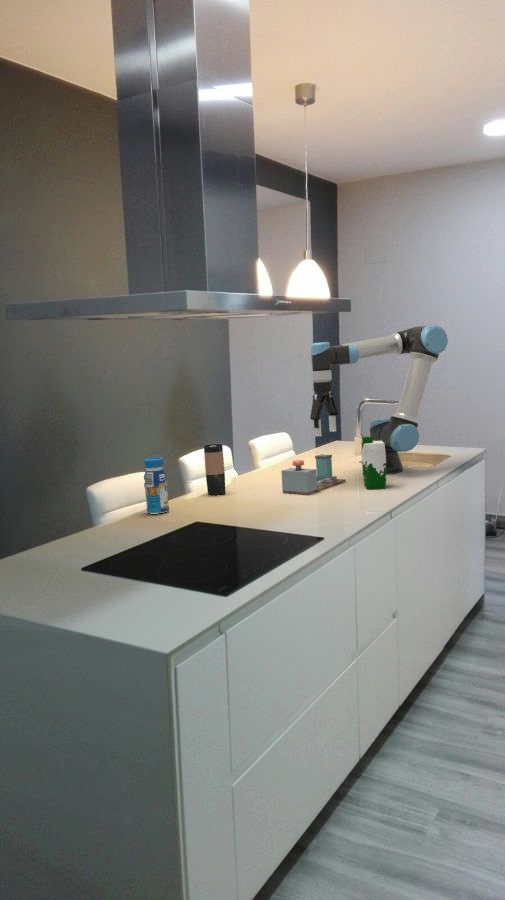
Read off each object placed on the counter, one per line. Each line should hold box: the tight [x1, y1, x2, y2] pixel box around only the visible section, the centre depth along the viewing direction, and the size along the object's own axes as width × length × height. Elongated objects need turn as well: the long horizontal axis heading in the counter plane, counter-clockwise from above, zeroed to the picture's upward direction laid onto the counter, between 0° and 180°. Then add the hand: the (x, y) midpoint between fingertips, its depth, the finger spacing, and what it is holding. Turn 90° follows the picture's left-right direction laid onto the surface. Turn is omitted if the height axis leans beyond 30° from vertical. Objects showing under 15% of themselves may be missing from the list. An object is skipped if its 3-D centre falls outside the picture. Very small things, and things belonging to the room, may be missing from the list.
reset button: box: [292, 459, 305, 471], centre depth 281 cm, size 4×4×4 cm
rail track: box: [282, 475, 347, 496], centre depth 290 cm, size 28×12×3 cm, turn 142°
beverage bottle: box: [143, 457, 170, 514], centre depth 262 cm, size 8×8×20 cm
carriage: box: [314, 454, 333, 481], centre depth 296 cm, size 4×5×11 cm
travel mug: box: [203, 443, 226, 497], centre depth 289 cm, size 8×8×20 cm
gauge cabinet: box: [281, 467, 317, 493], centre depth 282 cm, size 6×12×8 cm, turn 52°
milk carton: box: [361, 436, 387, 491], centre depth 281 cm, size 9×9×20 cm
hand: (325, 433), depth 291 cm, fingers open, 13 cm apart
